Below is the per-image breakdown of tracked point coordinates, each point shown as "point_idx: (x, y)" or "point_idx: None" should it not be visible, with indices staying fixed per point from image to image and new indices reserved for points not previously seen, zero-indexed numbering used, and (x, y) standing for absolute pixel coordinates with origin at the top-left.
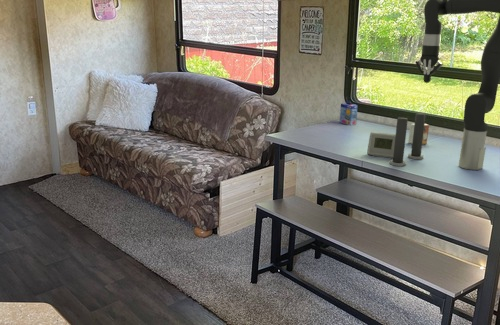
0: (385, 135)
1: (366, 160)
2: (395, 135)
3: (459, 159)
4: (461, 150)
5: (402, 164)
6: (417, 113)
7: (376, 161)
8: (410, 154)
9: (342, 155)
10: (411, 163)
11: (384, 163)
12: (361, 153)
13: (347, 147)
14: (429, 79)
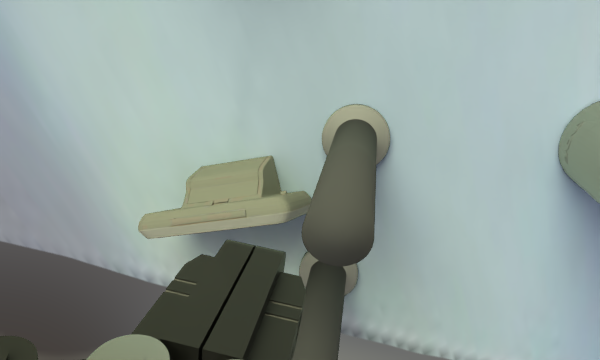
0: (209, 231)
1: None
2: (251, 225)
3: (570, 164)
4: (596, 197)
5: (352, 289)
6: (311, 228)
7: None
8: (330, 139)
9: (137, 273)
10: None
11: None
12: None
13: (80, 161)
14: (294, 350)
